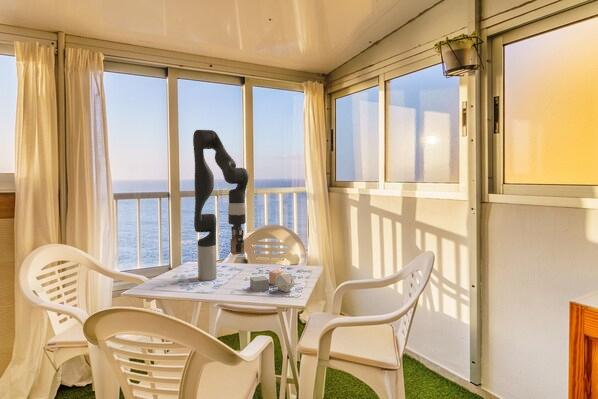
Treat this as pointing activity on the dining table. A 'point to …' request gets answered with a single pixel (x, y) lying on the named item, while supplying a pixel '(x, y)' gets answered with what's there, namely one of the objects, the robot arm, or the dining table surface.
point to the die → (284, 282)
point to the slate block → (259, 283)
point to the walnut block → (233, 247)
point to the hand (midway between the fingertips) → (237, 250)
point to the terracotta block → (273, 276)
